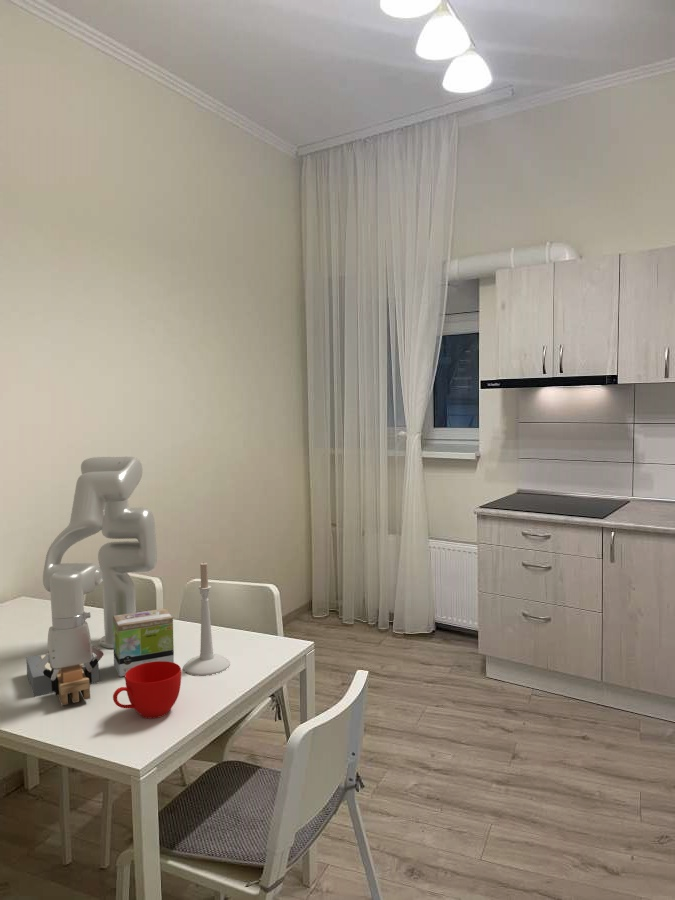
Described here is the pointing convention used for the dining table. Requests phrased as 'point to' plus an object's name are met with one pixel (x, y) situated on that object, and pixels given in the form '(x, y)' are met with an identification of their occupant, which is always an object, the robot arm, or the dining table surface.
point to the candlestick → (206, 637)
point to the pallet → (73, 689)
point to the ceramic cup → (151, 688)
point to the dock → (41, 681)
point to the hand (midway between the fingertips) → (72, 688)
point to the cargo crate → (71, 673)
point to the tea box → (142, 639)
